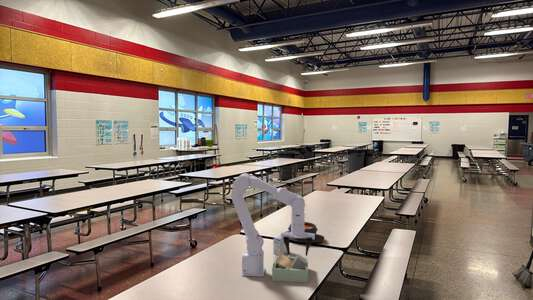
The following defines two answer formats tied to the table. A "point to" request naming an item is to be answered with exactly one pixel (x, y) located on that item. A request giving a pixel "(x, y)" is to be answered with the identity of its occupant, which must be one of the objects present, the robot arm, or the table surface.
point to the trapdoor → (284, 261)
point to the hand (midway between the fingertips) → (297, 254)
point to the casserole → (308, 229)
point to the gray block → (299, 262)
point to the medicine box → (279, 246)
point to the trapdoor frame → (289, 272)
